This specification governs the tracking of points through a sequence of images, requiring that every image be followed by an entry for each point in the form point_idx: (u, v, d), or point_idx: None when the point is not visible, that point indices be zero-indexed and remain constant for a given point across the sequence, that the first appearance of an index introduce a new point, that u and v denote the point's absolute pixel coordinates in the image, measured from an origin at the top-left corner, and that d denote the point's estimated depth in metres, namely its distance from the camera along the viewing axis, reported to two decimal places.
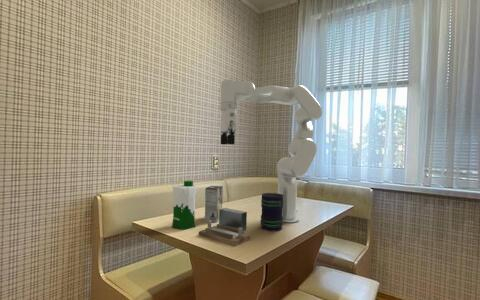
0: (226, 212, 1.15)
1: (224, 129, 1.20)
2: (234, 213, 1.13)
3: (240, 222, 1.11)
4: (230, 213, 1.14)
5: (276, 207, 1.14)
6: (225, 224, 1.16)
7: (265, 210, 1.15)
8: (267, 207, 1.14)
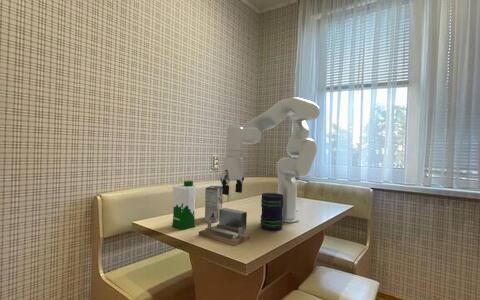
0: (226, 212, 1.15)
1: (238, 178, 1.16)
2: (234, 213, 1.13)
3: (240, 222, 1.11)
4: (230, 213, 1.14)
5: (276, 207, 1.14)
6: (225, 224, 1.16)
7: (265, 210, 1.15)
8: (267, 207, 1.14)
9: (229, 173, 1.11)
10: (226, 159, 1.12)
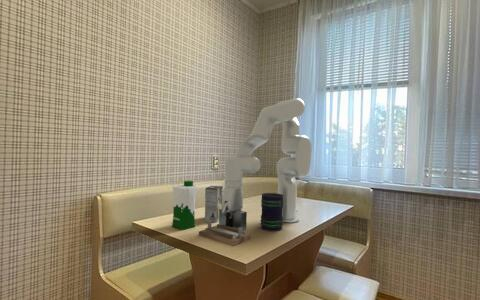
0: None
1: (238, 208, 1.16)
2: (234, 213, 1.13)
3: (240, 222, 1.11)
4: None
5: (276, 207, 1.14)
6: (225, 224, 1.16)
7: (265, 210, 1.15)
8: (267, 207, 1.14)
9: (229, 204, 1.11)
10: (225, 190, 1.12)
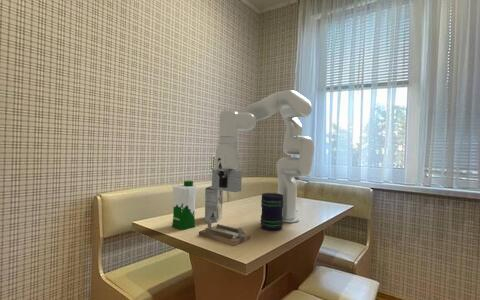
0: None
1: (233, 167, 1.06)
2: (228, 172, 1.03)
3: (234, 181, 1.01)
4: None
5: (276, 207, 1.14)
6: (218, 185, 1.06)
7: (265, 210, 1.15)
8: (267, 207, 1.14)
9: (222, 161, 1.01)
10: (219, 146, 1.03)
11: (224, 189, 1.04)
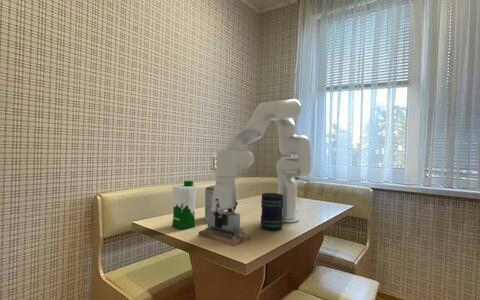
0: None
1: (231, 206, 1.05)
2: (226, 215, 1.02)
3: (232, 225, 1.00)
4: (222, 215, 1.03)
5: (276, 207, 1.14)
6: (216, 227, 1.04)
7: (265, 210, 1.15)
8: (267, 207, 1.14)
9: (220, 203, 1.00)
10: (216, 187, 1.01)
11: None
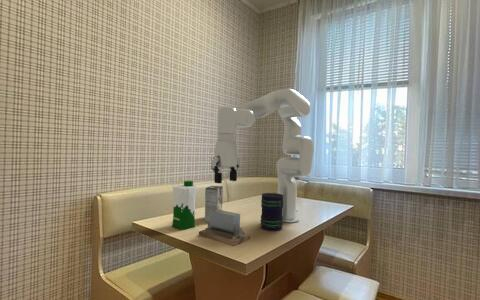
0: (217, 214, 1.04)
1: (232, 165, 1.05)
2: (226, 215, 1.02)
3: (232, 225, 1.00)
4: (222, 215, 1.03)
5: (276, 207, 1.14)
6: (216, 227, 1.04)
7: (265, 210, 1.15)
8: (267, 207, 1.14)
9: (221, 159, 1.00)
10: (218, 144, 1.01)
11: None
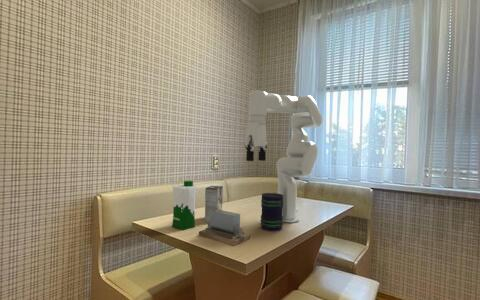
0: (217, 214, 1.04)
1: (262, 145, 1.12)
2: (226, 215, 1.02)
3: (232, 225, 1.00)
4: (222, 215, 1.03)
5: (276, 207, 1.14)
6: (216, 227, 1.04)
7: (265, 210, 1.15)
8: (267, 207, 1.14)
9: (253, 138, 1.07)
10: (250, 124, 1.08)
11: None
